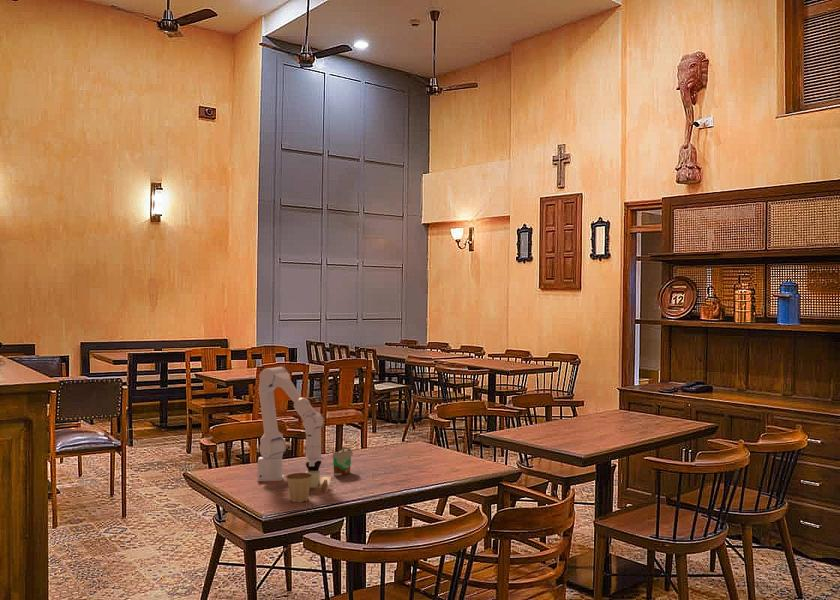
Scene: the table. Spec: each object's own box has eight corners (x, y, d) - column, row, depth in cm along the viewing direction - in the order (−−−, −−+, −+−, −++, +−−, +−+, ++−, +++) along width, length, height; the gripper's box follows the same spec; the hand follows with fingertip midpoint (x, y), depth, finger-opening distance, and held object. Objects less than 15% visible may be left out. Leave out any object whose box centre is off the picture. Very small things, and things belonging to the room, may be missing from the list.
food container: (347, 479, 276) (347, 453, 276) (332, 478, 277) (332, 453, 277) (356, 471, 288) (356, 447, 288) (342, 470, 289) (342, 446, 289)
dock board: (293, 494, 255) (293, 488, 255) (301, 477, 278) (301, 473, 278) (326, 493, 255) (326, 488, 255) (331, 477, 278) (331, 472, 278)
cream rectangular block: (303, 491, 257) (303, 476, 257) (306, 484, 266) (306, 470, 266) (317, 491, 257) (317, 476, 257) (320, 484, 267) (320, 470, 267)
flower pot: (289, 505, 241) (288, 480, 241) (283, 498, 249) (282, 474, 249) (315, 502, 245) (315, 477, 245) (308, 495, 253) (308, 471, 253)
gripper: (322, 449, 261) (322, 485, 261) (325, 441, 275) (325, 476, 275) (303, 449, 260) (303, 486, 260) (307, 441, 275) (307, 476, 275)
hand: (313, 481), depth 268 cm, fingers closed
